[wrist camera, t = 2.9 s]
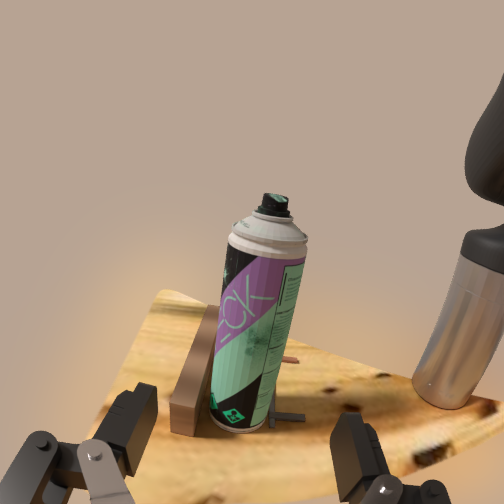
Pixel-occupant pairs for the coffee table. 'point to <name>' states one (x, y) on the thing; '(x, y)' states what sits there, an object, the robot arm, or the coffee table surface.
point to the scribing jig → (206, 380)
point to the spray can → (255, 313)
